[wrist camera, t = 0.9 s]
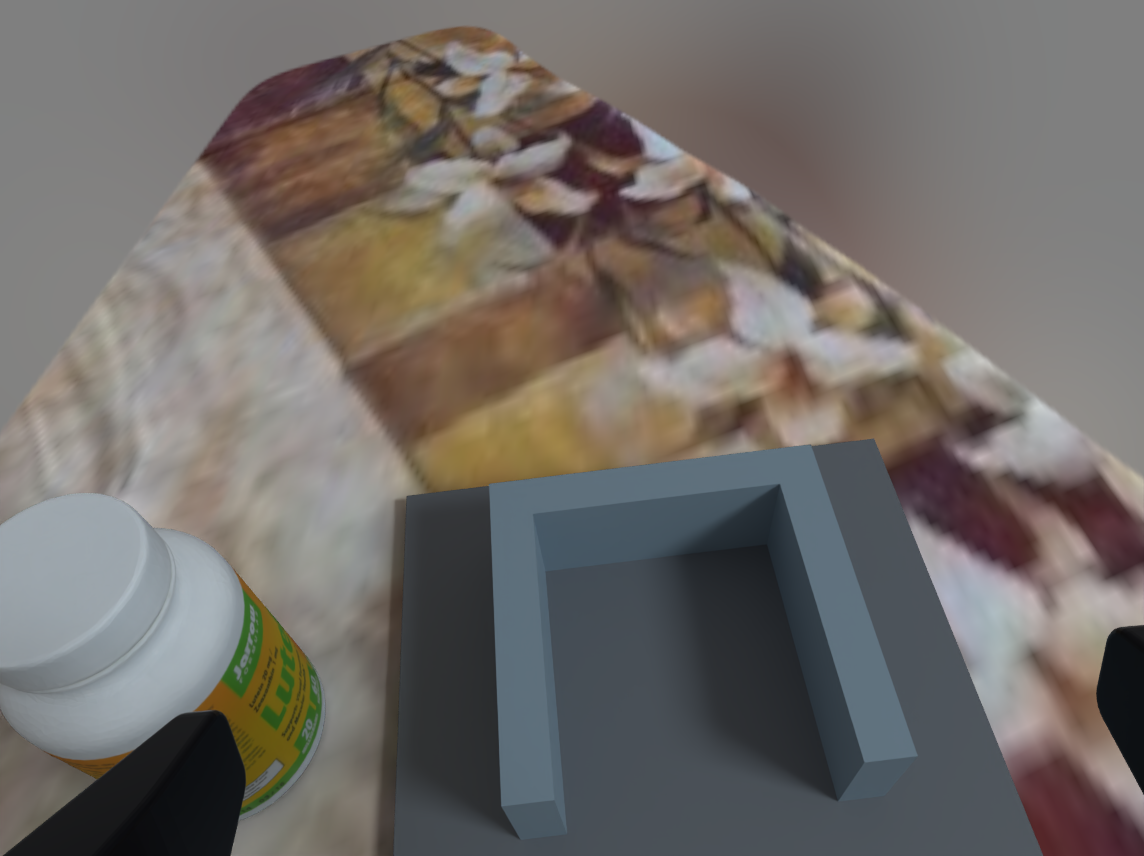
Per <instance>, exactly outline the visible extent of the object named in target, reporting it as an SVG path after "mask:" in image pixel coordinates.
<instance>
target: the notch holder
mask: <svg viewBox="0 0 1144 856" xmlns="http://www.w3.org/2000/svg"><path fill="white" fill-rule="evenodd" d="M393 856H1043V854H1042V852H1041V849H1040V847H1039V844H1038V842H1037V839H1036V837H1035V835H1034V832H1033V830H1032V827H1031V825H1030V822H1029V820H1028V817H1027V815H1026V812H1025V810H1024V807H1023V805H1022V802H1021V800H1020V798H1019V795H1018V793H1017V790H1016V788H1015V785H1014V783H1013V780H1012V778H1011V775H1010V773H1009V770H1008V768H1007V765H1006V763H1005V761H1004V758H1003V756H1002V753H1001V751H1000V748H999V746H998V743H997V741H996V738H995V736H994V733H993V731H992V728H991V726H990V724H989V721H988V719H987V716H986V714H985V711H984V709H983V706H982V704H981V701H980V699H979V696H978V694H977V691H976V689H975V687H974V684H973V682H972V679H971V677H970V674H969V672H968V669H967V667H966V664H965V662H964V659H963V657H962V654H961V652H960V650H959V647H958V645H957V642H956V640H955V637H954V635H953V632H952V630H951V627H950V625H949V622H948V620H947V618H946V615H945V613H944V610H943V608H942V605H941V603H940V600H939V598H938V595H937V593H936V590H935V588H934V585H933V583H932V581H931V578H930V576H929V573H928V571H927V568H926V566H925V563H924V561H923V558H922V556H921V553H920V551H919V548H918V546H917V544H916V541H915V539H914V536H913V534H912V531H911V529H910V526H909V524H908V521H907V519H906V516H905V514H904V511H903V509H902V507H901V504H900V502H899V499H898V497H897V494H896V492H895V489H894V487H893V484H892V482H891V479H890V477H889V474H888V472H887V470H886V467H885V465H884V462H883V460H882V457H881V455H880V452H879V450H878V447H877V445H876V442H875V440H874V439H868V440H860V441H851V442H843V443H835V444H827V445H819V446H811V445H803V446H794V447H786V448H778V449H770V450H762V451H754V452H746V453H737V454H729V455H721V456H713V457H705V458H697V459H689V460H680V461H672V462H664V463H656V464H648V465H640V466H632V467H623V468H615V469H607V470H599V471H591V472H583V473H574V474H566V475H558V476H550V477H542V478H534V479H526V480H517V481H509V482H501V483H493V484H489V486H485V487H477V488H468V489H460V490H452V491H444V492H436V493H428V494H420V495H411V496H407V501H406V528H405V555H404V582H403V609H402V636H401V662H400V689H399V716H398V743H397V770H396V797H395V824H394V851H393Z"/></svg>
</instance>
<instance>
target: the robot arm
mask: <svg viewBox="0 0 1144 856" xmlns="http://www.w3.org/2000/svg"><path fill="white" fill-rule="evenodd" d="M1096 694H1097V703H1098V708H1099V710H1100V713H1101V716H1102V718H1103V720H1104V722H1105V724H1106V725H1107V727H1108V729H1109V731H1110V733H1111V735H1112V737H1113V738H1114V740H1115V742H1116V744H1117V746H1118V748H1119V750H1120V751H1121V753H1122V755H1123V757H1124V759H1125V761H1126V763H1127V764H1128V766H1129V768H1130V770H1131V772H1132V774H1133V776H1134V777H1135V779H1136V781H1137V783H1138V785H1139V787H1140V789H1141V790H1142V792H1143V794H1144V625H1139V626H1128V627H1119V628H1117V629H1114V630H1113V631H1112V632H1111V633H1110V635H1109V636H1108V639H1107V642H1106V647H1105V652H1104V656H1103V661H1102V666H1101V671H1100V675H1099V680H1098V685H1097V692H1096ZM245 788H246V772H245V767H244V764H243V761H242V758H241V755H240V752H239V750H238V747H237V744H236V741H235V739H234V736H233V733H232V730H231V728H230V725H229V722H228V720H227V718H226V716H225V715H224V714H223V713H222V712H220V711H217V710H207V711H196V712H186V713H182V714H180V715H178V716H176V717H175V718H173V719H172V720H171V721H169V722H168V723H167V724H166V725H164V726H163V727H162V728H161V729H160V730H158V731H157V732H156V733H155V734H153V735H152V736H151V737H150V738H148V739H147V740H146V741H145V742H143V743H142V744H141V745H140V746H138V747H137V748H136V749H135V750H133V751H132V752H131V753H130V754H128V755H127V756H126V757H125V758H124V759H122V760H121V761H120V762H119V763H117V764H116V765H115V766H114V767H112V768H111V769H110V770H109V771H107V772H106V773H105V774H104V775H102V776H101V777H100V778H99V779H97V780H96V781H95V782H94V783H92V784H91V785H90V786H89V787H87V788H86V789H85V790H84V791H83V792H81V793H80V794H79V795H78V796H76V797H75V798H74V799H73V800H71V801H70V802H69V803H68V804H66V805H65V806H64V807H63V808H61V809H60V810H59V811H58V812H56V813H55V814H54V815H53V816H51V817H50V818H49V819H48V820H46V821H45V822H44V823H43V824H42V825H40V826H39V827H38V828H37V829H35V830H34V831H33V832H32V833H30V834H29V835H28V836H27V837H25V838H24V839H23V840H22V841H20V842H19V843H18V844H17V845H15V846H14V847H13V848H12V849H10V850H9V851H8V852H7V853H6V854H4V855H3V856H230V855H231V851H232V846H233V842H234V838H235V833H236V829H237V825H238V820H239V816H240V812H241V807H242V803H243V799H244V794H245Z"/></svg>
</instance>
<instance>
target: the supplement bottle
mask: <svg viewBox="0 0 1144 856" xmlns="http://www.w3.org/2000/svg"><path fill="white" fill-rule="evenodd" d="M0 709H1V711H2V713H3V715H4V717H5V718H6V720H7V721H8V722H9V724H10V725H11V726H12V727H13V729H14V730H15V731H16V732H17V733H18V734H20V735H21V736H22V737H24V738H25V739H26V740H28V741H29V742H31V743H32V744H34V745H35V746H37V747H38V748H40V749H41V750H43V751H44V752H46V753H48V754H49V755H51V756H53V757H56V758H58V759H60V760H62V761H63V762H65V763H67V764H69V765H71V766H73V767H75V768H77V769H79V770H81V771H83V772H85V773H86V774H88V775H90V776H92V777H94V778H96V779H99V778H100V777H101V776H102V775H104V774H105V773H106V772H107V771H109V770H110V769H111V768H112V767H114V766H115V765H116V764H117V763H119V762H120V761H121V760H122V759H124V758H125V757H126V756H127V755H128V754H130V753H131V752H132V751H133V750H135V749H136V748H137V747H138V746H140V745H141V744H142V743H143V742H145V741H146V740H147V739H148V738H150V737H151V736H152V735H153V734H155V733H156V732H157V731H158V730H160V729H161V728H162V727H163V726H164V725H166V724H167V723H168V722H169V721H171V720H172V719H173V718H175V717H176V716H178V715H180V714H182V713H186V712H196V711H207V710H217V711H220V712H222V713H223V714H224V715H225V716H226V718H227V720H228V722H229V725H230V728H231V730H232V733H233V736H234V739H235V741H236V744H237V747H238V750H239V752H240V755H241V758H242V761H243V764H244V767H245V772H246V788H245V794H244V799H243V803H242V807H241V812H240V816H239V820H242V819H245V818H247V817H250V816H252V815H254V814H256V813H258V812H259V811H261V810H263V809H265V808H266V807H268V806H269V805H271V804H272V803H273V802H275V801H276V800H277V799H278V798H280V797H281V796H282V795H283V794H284V793H285V792H286V791H287V790H288V789H289V788H290V787H291V786H292V785H293V784H294V783H295V782H296V781H297V779H298V778H299V777H300V776H301V774H302V773H303V772H304V770H305V769H306V767H307V766H308V764H309V762H310V761H311V759H312V757H313V755H314V753H315V751H316V749H317V746H318V744H319V741H320V738H321V735H322V731H323V726H324V720H325V697H324V691H323V687H322V683H321V680H320V677H319V675H318V673H317V671H316V669H315V668H314V666H313V665H312V663H311V662H310V661H309V659H308V657H307V656H306V655H305V654H304V653H303V651H302V650H301V649H300V648H299V646H298V645H297V644H296V643H295V642H294V640H293V639H292V638H291V637H290V636H289V634H288V633H287V632H286V631H285V630H284V628H283V627H282V626H281V625H280V624H279V622H278V621H277V620H276V619H275V618H274V616H273V615H272V614H271V613H270V612H269V610H268V609H267V608H266V607H265V606H264V605H263V603H262V602H261V601H260V600H259V599H258V598H257V596H256V595H255V594H254V593H253V592H252V590H251V589H250V588H249V587H248V586H247V584H246V583H245V582H244V581H243V580H242V578H241V577H240V576H239V575H238V574H237V573H236V571H235V570H234V569H233V568H232V567H231V566H230V564H229V563H228V562H227V561H226V560H225V559H224V558H223V557H222V556H221V555H220V554H219V553H218V552H217V551H216V550H215V549H214V548H213V547H211V546H210V545H209V544H207V543H206V542H204V541H202V540H200V539H199V538H197V537H195V536H192V535H190V534H187V533H184V532H180V531H177V530H173V529H165V528H152V526H151V525H150V524H149V523H148V522H147V521H146V520H145V519H144V518H143V517H142V516H141V515H140V514H139V513H138V512H137V511H136V510H135V509H133V508H132V507H131V506H130V505H128V504H127V503H125V502H123V501H121V500H119V499H117V498H114V497H111V496H107V495H103V494H96V493H77V494H68V495H64V496H59V497H55V498H52V499H49V500H46V501H43V502H41V503H38V504H35V505H33V506H31V507H29V508H27V509H25V510H23V511H21V512H19V513H18V514H16V515H14V516H13V517H11V518H10V519H8V520H7V521H5V522H4V523H2V524H1V525H0ZM239 820H238V821H239Z"/></svg>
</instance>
